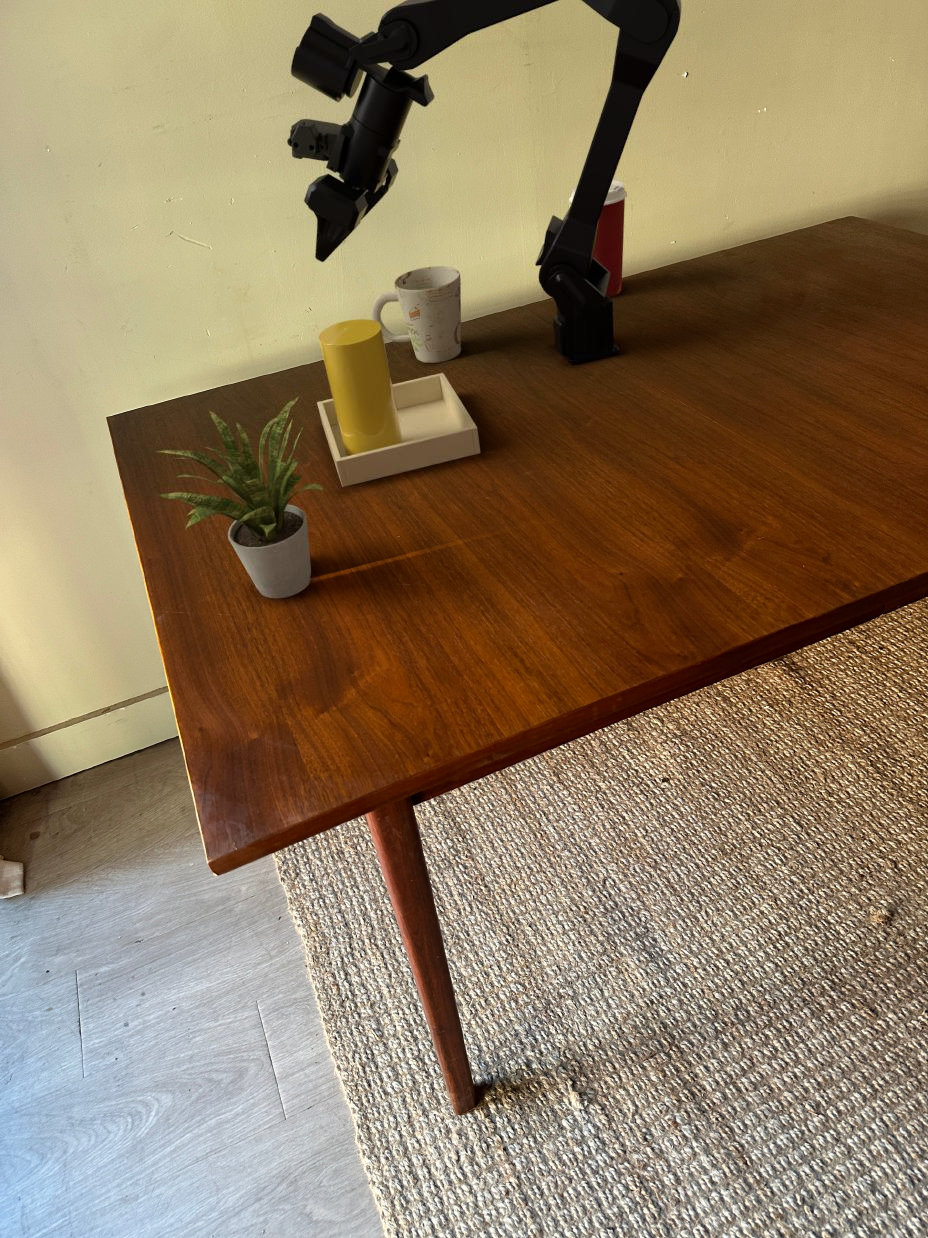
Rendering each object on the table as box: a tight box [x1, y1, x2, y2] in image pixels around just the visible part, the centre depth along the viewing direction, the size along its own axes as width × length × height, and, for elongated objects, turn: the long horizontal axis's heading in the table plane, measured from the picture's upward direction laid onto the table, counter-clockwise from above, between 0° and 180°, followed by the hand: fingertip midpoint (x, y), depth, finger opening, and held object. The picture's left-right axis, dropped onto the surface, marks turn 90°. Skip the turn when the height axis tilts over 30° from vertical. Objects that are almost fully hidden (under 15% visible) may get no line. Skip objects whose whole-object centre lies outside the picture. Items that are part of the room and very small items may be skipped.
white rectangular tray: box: [316, 372, 481, 488], centre depth 102 cm, size 15×15×4 cm
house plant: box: [154, 396, 326, 599], centre depth 81 cm, size 14×14×16 cm
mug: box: [370, 265, 462, 364], centre depth 119 cm, size 8×13×10 cm, turn 78°
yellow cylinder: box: [317, 318, 403, 457], centre depth 96 cm, size 6×6×14 cm
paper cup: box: [568, 179, 628, 298], centre depth 126 cm, size 8×8×14 cm
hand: (330, 247), depth 114 cm, fingers open, 9 cm apart
